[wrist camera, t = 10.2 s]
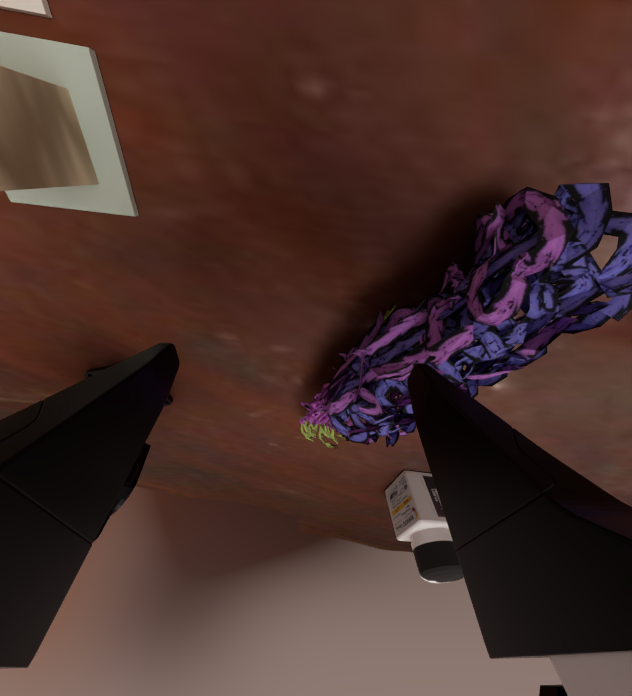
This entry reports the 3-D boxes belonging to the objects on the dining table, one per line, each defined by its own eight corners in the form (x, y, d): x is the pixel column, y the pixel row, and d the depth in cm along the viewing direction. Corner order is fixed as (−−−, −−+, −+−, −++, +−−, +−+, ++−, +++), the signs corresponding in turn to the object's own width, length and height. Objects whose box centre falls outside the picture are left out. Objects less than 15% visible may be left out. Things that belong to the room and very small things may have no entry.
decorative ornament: (677, 316, 16) (356, 494, 28) (538, 249, 24) (328, 414, 36) (762, 150, 8) (258, 501, 20) (508, 124, 15) (247, 395, 27)
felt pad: (139, 215, 18) (135, 216, 18) (17, 200, 17) (10, 201, 17) (94, 51, 13) (88, 47, 13) (-75, 20, 13) (-87, 15, 12)
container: (403, 469, 41) (437, 571, 31) (443, 473, 43) (488, 573, 32) (383, 490, 46) (407, 586, 35) (420, 493, 47) (453, 587, 36)
